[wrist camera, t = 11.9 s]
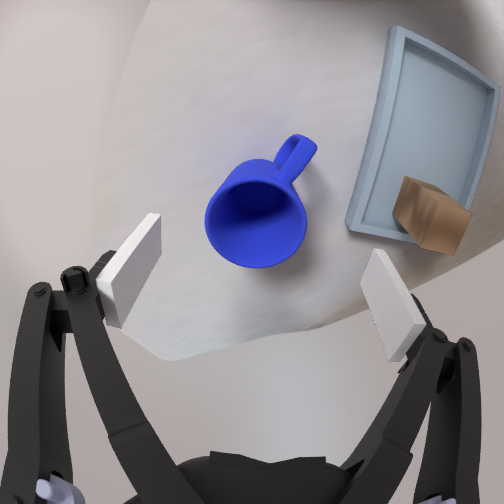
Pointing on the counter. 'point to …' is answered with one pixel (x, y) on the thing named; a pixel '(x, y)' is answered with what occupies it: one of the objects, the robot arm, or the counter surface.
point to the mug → (261, 208)
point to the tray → (422, 131)
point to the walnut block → (430, 216)
